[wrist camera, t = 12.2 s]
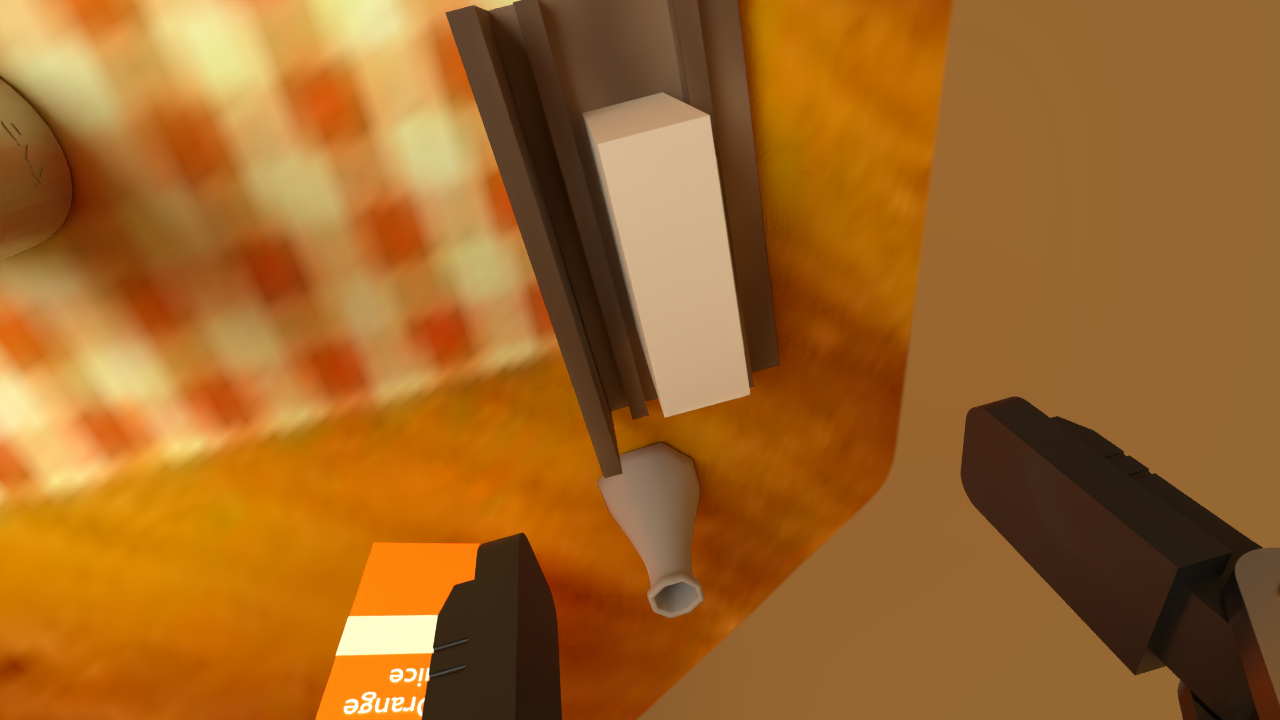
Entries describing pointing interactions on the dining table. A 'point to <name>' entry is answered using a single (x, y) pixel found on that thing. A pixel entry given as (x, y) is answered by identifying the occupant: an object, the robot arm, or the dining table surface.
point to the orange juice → (393, 631)
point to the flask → (659, 521)
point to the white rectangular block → (672, 246)
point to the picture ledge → (567, 178)
